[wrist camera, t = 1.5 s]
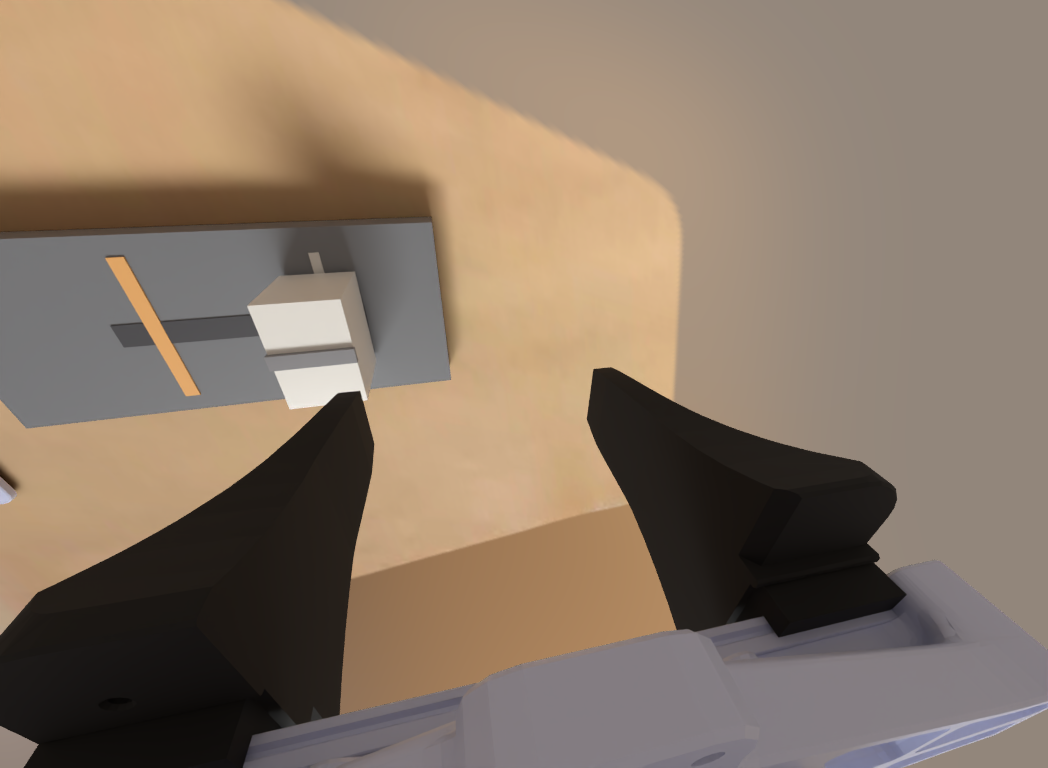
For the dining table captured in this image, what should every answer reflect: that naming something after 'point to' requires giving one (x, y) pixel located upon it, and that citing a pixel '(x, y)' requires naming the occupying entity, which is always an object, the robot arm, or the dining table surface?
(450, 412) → the dining table surface
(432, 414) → the dining table surface
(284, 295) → the block
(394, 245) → the console
